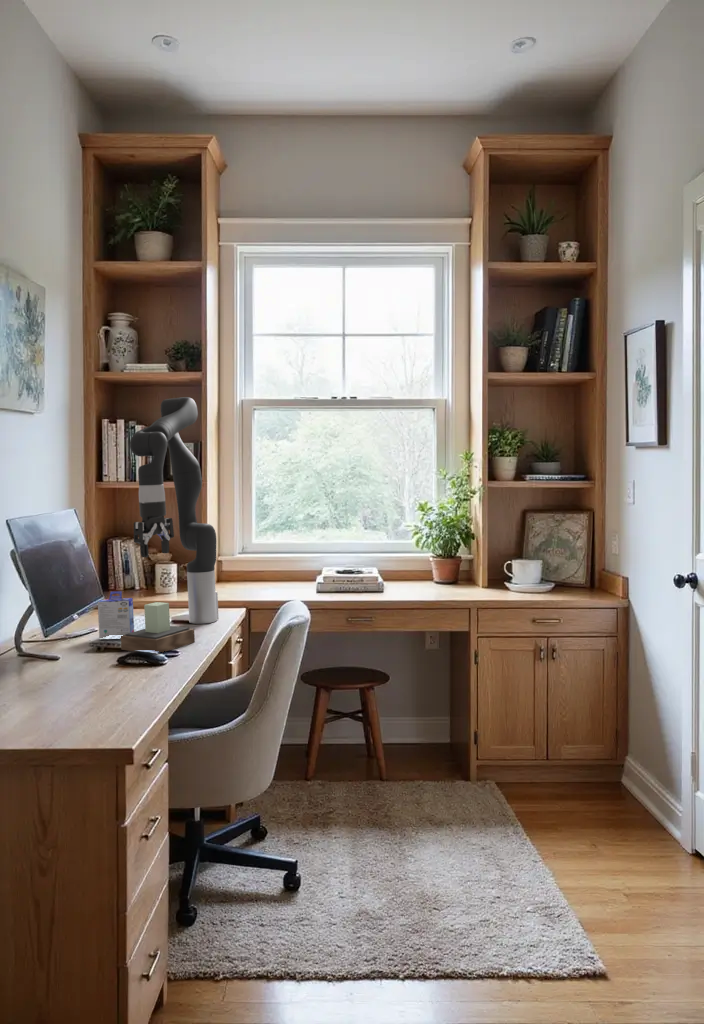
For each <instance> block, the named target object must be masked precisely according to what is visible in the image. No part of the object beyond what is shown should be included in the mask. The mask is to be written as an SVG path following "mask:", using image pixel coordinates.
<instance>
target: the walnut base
mask: <svg viewBox="0 0 704 1024" xmlns="http://www.w3.org/2000/svg"><path fill="white" fill-rule="evenodd" d="M195 639H196V637H195V629H194V628H190V627H184V626H174V625H170V630H168V631H164V632H161V633H151V632H146V630H145V628H143V629H139V630H134V632H131V633H127V634H126V635H123V636H121V639H120V650H121V651H129V652H135V651H134V650H155V651H159V652H162V653H165V652H168V651H171V650H174V649H178V648H180V647H184V646H188V645H190V644H194V643H196V640H195ZM164 651H165V652H164Z"/></svg>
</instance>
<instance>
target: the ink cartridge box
mask: <svg viewBox="0 0 704 1024" xmlns="http://www.w3.org/2000/svg"><path fill="white" fill-rule="evenodd" d="M122 593H123V591H122V590H119V591H116V590H115V591H110V594H109V598H108V599H107V598H106V599H101V600H99V601H98V602H97V612H98V613H97V615H98V618H97V619H98V637H99V638H103V637H106V636H109V635H126V634H127V633H131V632H135V619H134V615H135V614H134V601H133V600H134V599H133V597H128V598H127V597H125V598H122V595H123V594H122ZM115 594H118V595H115Z"/></svg>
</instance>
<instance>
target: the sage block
mask: <svg viewBox="0 0 704 1024" xmlns="http://www.w3.org/2000/svg"><path fill="white" fill-rule="evenodd" d="M143 606H144V608H143V609H144V626H145V628H144V629H145V630H146V632H151V633H161V632H164V631H168V630H170V626H171V621H170V619H171V618H170V603H169V602H160V601H159V602H157V601H156V602H152V603H148V604H147V603H146V604H144V605H143Z"/></svg>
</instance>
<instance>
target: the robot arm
mask: <svg viewBox="0 0 704 1024" xmlns="http://www.w3.org/2000/svg"><path fill="white" fill-rule="evenodd" d="M160 415H161V416H160V417H159V418H157V419H156V420H155V421H154V422H152V423H151V425H149V426H148V427H144V428H143V429H140V430H138V431H136V432H134V433H133V434H132V436H131V438H130V440H129V448H130V451H131V453H132V454H133V455H135V456H136V457H140V458H141V457H153V458H152V460H151V461H150V462H149V463H146V464H143V465H140V466H138V470H137V473H138V475H137V476H138V505H139V508H138V509H139V517H141V522H140V521H134V523H133V543H135V544H136V543H137V544H139V546H140V547H139V549H140V550H139V551H140V556H141V558H149V555H150V554H149V544H148V543H149V541H150V539H151V538H152V537H153V536H156V535H157V536H159V538H160V539H161V541H160V543H161V544H160V545H161V553H162V554H169V553H170V540H171V539H172V538H173V539H174V537H175V532H174V531H175V530H174V522H173V520H174V519H173V518H172V517H165V516H166V515H167V506H166V504H167V503H166V492H165V491H166V490H165V486H164V466H165V465H164V464H165V458H166V455H167V449H168V453H169V459H170V465H171V475H172V480H173V485H174V489H175V490H174V491H175V497H176V505H177V512H178V526H179V528H178V529H179V540H180V543H181V545H182V547H183V548H184V549H185V550H188V551H196V552H195V553H196V554H195V558H194V559H193V560H191V561H189V562H188V563H186V581H187V598H188V599H187V601H188V621H189V624H197V625H201V624H202V625H203V624H210V623H215V622H217V620H219V619H220V618H219V617H220V616H219V601H218V599H219V598H218V595H219V594H218V591H216V589H217V588H216V575H215V574H216V572H215V571H216V570H215V567H216V563H217V544H218V543H217V533H216V530H215V528H214V526H213V525H212V524H210V523H204V522H203V523H198V521H197V514H196V508H197V502H198V499H199V498H200V493H201V491H202V487H203V478H202V477H203V476H202V471H201V466H200V463H199V461H198V459H197V458H196V457H195V456H194V454H193V453H192V452H191V450H190V449H188V448H187V446H186V445H185V444H184V442H183V440H182V439H181V436H180V434H179V432H180V431H182V430H184V429H186V428H187V427H189V426H192V425H193V424H195V423H196V422H197V419H198V416H199V412H198V406H197V403H196V402H195V400H194V399H193V398H191V397H187V396H184V397H183V396H182V397H174V398H166V399H163V400H162V402H161V403H160Z"/></svg>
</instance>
